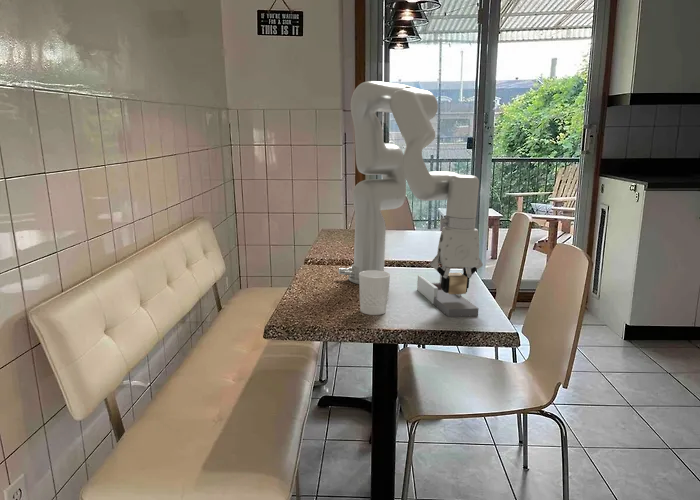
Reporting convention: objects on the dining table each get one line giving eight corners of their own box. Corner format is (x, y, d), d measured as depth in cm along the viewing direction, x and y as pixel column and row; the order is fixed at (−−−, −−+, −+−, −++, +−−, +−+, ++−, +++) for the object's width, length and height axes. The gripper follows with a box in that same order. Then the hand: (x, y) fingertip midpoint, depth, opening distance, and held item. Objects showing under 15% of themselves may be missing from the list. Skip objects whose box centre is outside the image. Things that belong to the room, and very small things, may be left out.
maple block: (449, 294, 139) (451, 277, 138) (443, 289, 144) (444, 272, 143) (465, 293, 140) (467, 277, 139) (459, 288, 145) (460, 272, 144)
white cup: (394, 311, 140) (396, 274, 138) (375, 318, 134) (376, 279, 132) (371, 304, 145) (372, 268, 143) (351, 311, 139) (352, 273, 137)
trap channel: (448, 317, 136) (449, 300, 136) (416, 289, 160) (417, 275, 159) (477, 315, 138) (479, 299, 137) (442, 289, 162) (443, 274, 161)
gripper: (434, 225, 133) (428, 296, 137) (497, 226, 136) (490, 294, 140) (424, 220, 140) (419, 287, 144) (484, 220, 143) (477, 286, 147)
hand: (454, 290), depth 142 cm, fingers closed on maple block, 4 cm apart
